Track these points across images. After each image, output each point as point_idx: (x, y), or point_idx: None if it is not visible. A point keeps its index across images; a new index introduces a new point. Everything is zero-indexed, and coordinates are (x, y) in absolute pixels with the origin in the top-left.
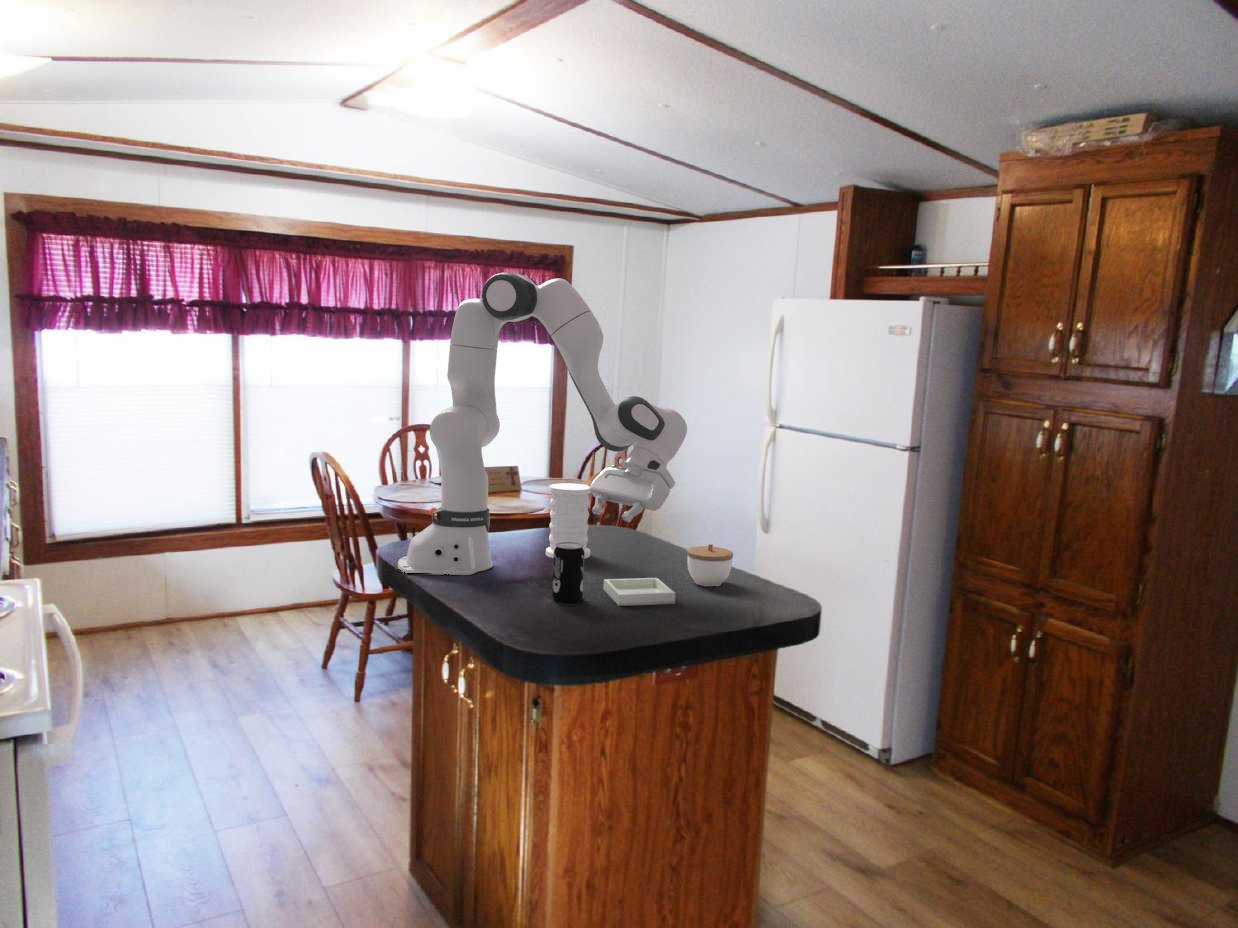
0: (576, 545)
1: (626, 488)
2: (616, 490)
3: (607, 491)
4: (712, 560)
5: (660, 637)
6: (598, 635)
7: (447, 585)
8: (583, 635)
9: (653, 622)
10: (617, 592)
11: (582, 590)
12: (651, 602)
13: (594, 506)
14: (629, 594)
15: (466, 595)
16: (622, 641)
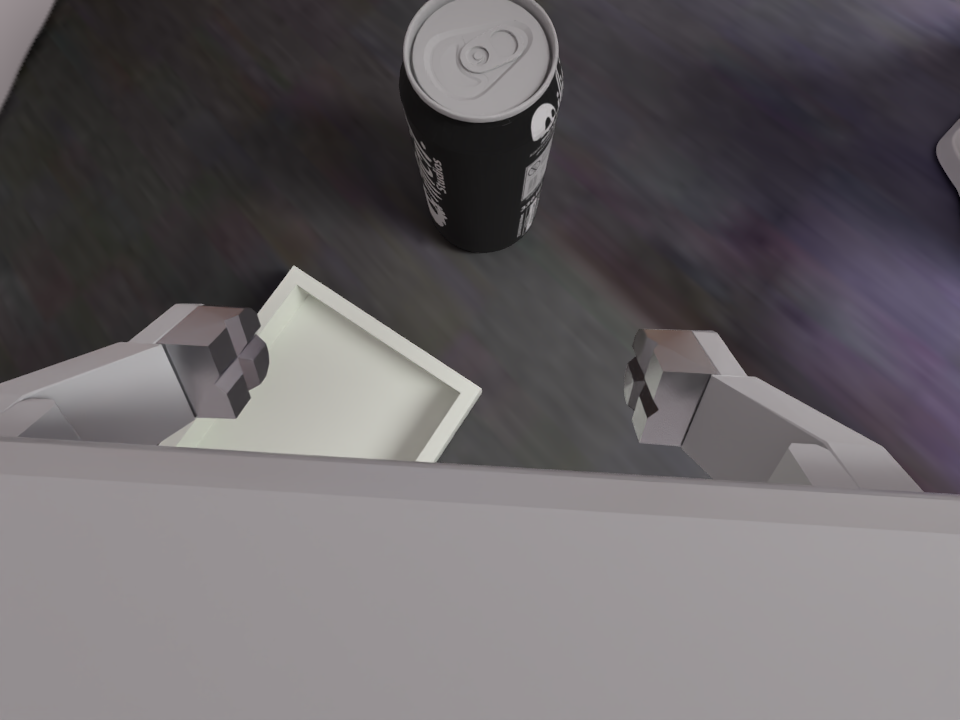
0: (471, 100)
1: (170, 659)
2: (490, 541)
3: (726, 498)
4: None
5: (30, 140)
6: (175, 31)
7: (859, 26)
8: (205, 3)
9: (121, 230)
10: (318, 285)
11: (432, 214)
12: None
13: (717, 350)
14: (269, 299)
15: (722, 3)
16: (95, 42)
